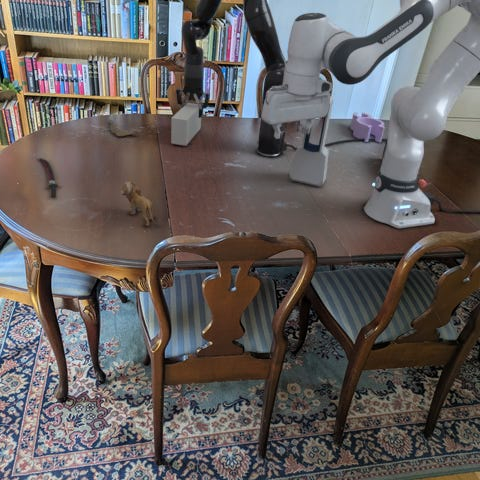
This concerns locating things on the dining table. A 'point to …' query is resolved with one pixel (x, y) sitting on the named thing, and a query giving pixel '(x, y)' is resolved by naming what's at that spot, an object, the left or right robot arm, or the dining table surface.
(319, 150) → the electronic device
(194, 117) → the box
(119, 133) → the jawbone
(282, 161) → the dining table surface
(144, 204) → the lion figurine
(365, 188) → the dining table surface
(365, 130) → the clip
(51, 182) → the sword
